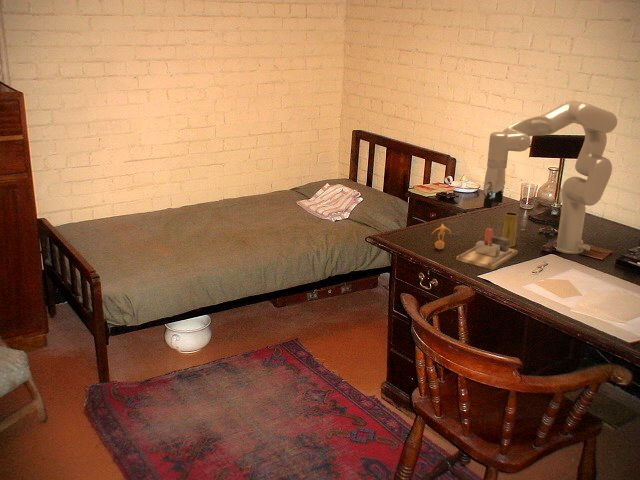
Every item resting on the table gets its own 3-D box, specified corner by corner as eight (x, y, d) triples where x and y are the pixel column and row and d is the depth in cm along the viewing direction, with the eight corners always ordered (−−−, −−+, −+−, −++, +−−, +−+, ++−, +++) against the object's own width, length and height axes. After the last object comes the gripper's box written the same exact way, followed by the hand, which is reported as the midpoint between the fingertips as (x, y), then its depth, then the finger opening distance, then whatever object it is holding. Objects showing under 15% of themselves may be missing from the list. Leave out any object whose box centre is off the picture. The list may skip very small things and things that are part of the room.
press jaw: (499, 254, 271) (502, 230, 267) (495, 256, 268) (497, 232, 264) (479, 249, 276) (481, 225, 273) (475, 251, 273) (477, 227, 270)
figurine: (447, 247, 283) (450, 221, 279) (451, 252, 277) (453, 225, 273) (428, 247, 283) (430, 221, 279) (431, 252, 277) (433, 225, 273)
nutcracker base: (517, 253, 277) (519, 239, 275) (492, 269, 259) (494, 254, 257) (482, 245, 287) (484, 231, 284) (456, 260, 269) (457, 245, 267)
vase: (515, 247, 284) (519, 216, 279) (501, 246, 285) (504, 215, 281) (514, 243, 290) (518, 212, 285) (500, 241, 291) (503, 211, 286)
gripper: (497, 158, 269) (493, 199, 275) (478, 165, 256) (474, 208, 262) (515, 161, 264) (510, 202, 270) (496, 168, 252) (492, 211, 257)
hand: (492, 205), depth 266 cm, fingers open, 9 cm apart
